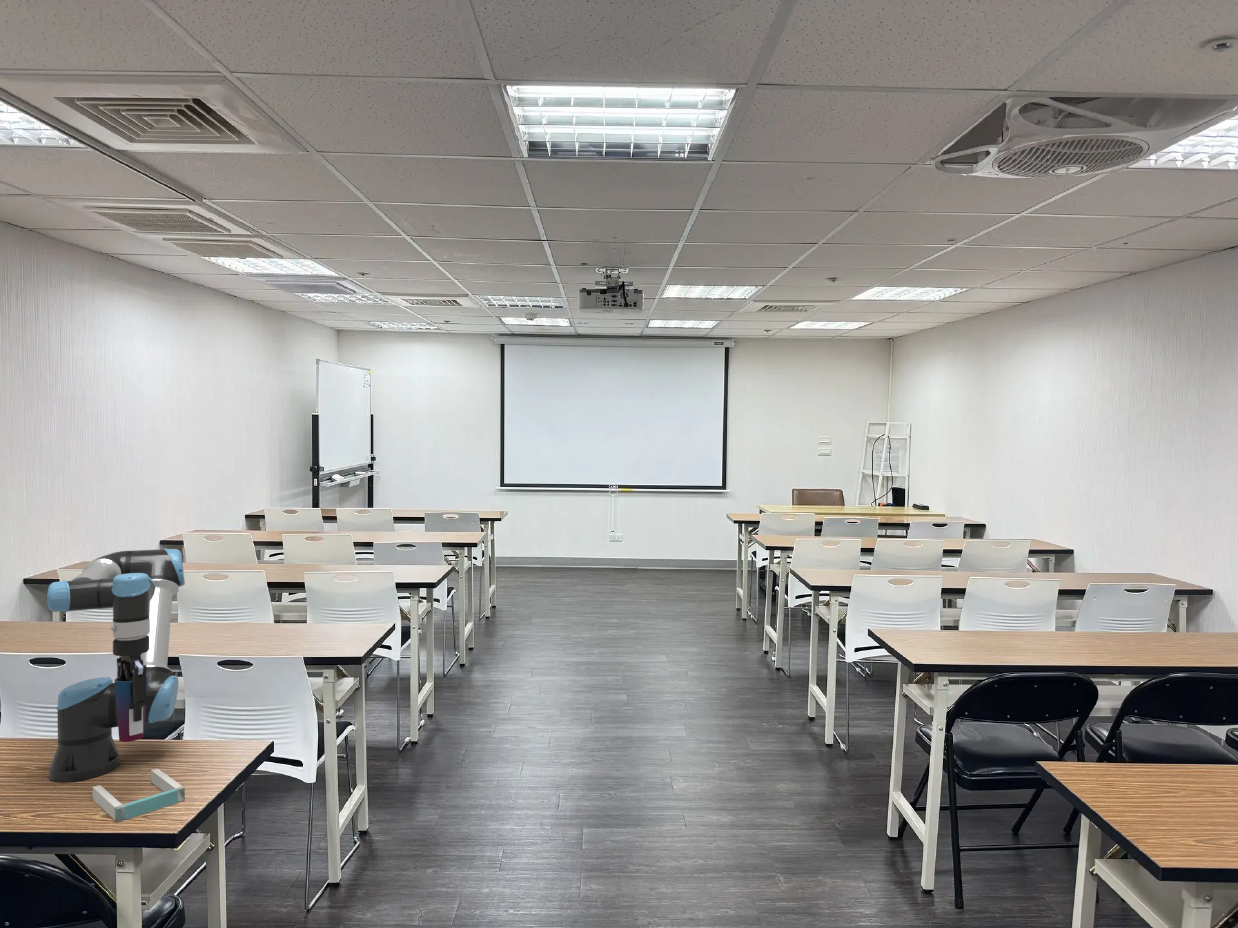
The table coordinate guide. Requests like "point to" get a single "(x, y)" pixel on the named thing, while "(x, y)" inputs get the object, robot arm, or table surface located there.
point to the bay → (122, 812)
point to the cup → (125, 710)
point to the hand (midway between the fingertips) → (131, 730)
